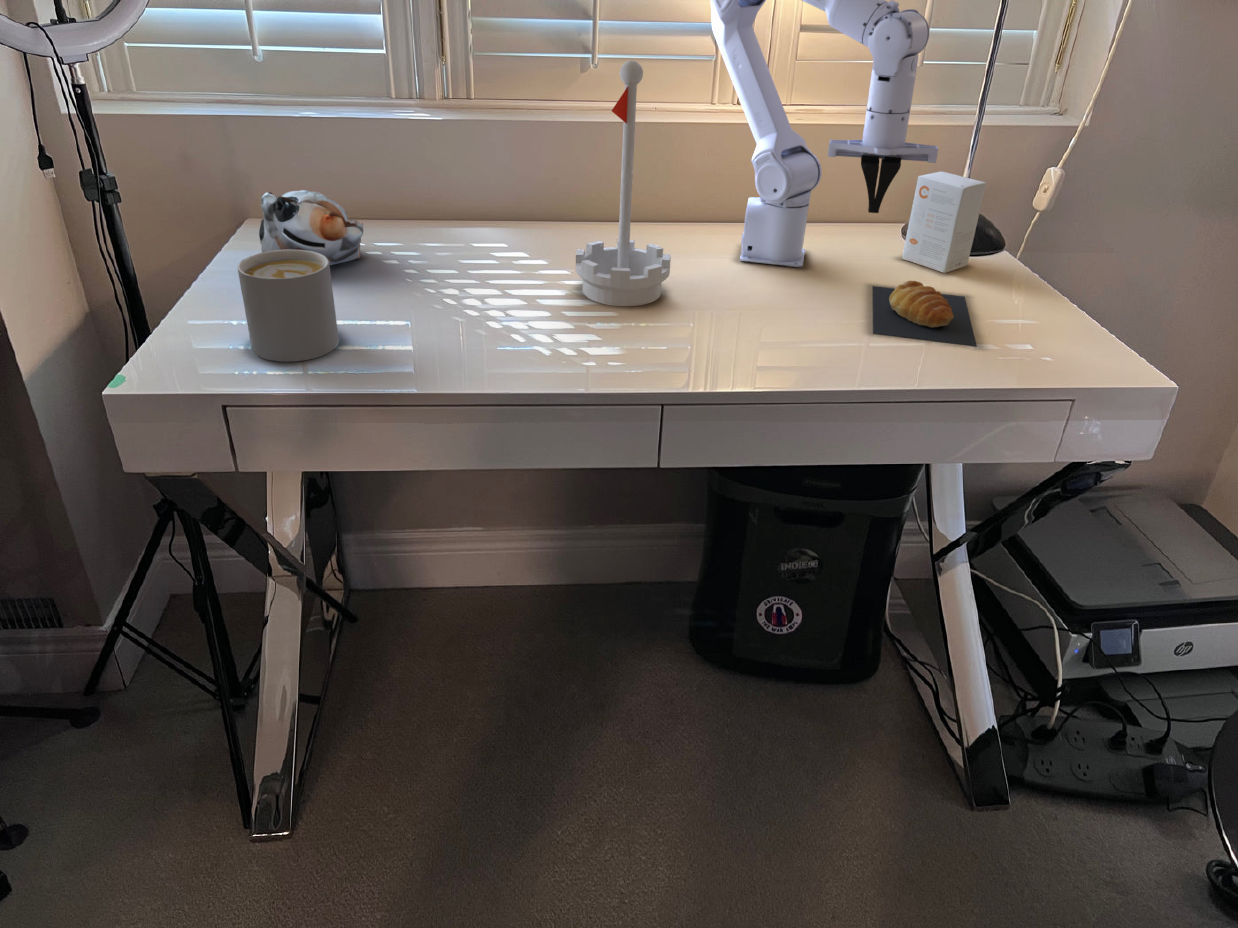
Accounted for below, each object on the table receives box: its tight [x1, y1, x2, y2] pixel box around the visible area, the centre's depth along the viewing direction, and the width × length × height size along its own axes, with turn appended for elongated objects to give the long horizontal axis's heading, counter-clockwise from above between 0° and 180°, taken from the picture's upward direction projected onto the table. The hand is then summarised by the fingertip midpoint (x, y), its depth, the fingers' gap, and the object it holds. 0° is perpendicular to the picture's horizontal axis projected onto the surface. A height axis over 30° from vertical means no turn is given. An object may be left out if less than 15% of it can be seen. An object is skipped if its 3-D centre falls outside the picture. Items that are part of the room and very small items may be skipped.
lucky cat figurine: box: [258, 189, 364, 266], centre depth 131 cm, size 15×12×14 cm
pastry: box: [889, 280, 954, 328], centre depth 126 cm, size 9×7×4 cm
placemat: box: [872, 285, 978, 347], centre depth 128 cm, size 13×18×1 cm
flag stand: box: [575, 60, 672, 307], centre depth 123 cm, size 13×13×30 cm
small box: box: [901, 170, 987, 274], centre depth 143 cm, size 8×6×13 cm
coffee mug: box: [237, 250, 340, 363], centre depth 111 cm, size 13×10×10 cm
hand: (873, 211), depth 133 cm, fingers closed
